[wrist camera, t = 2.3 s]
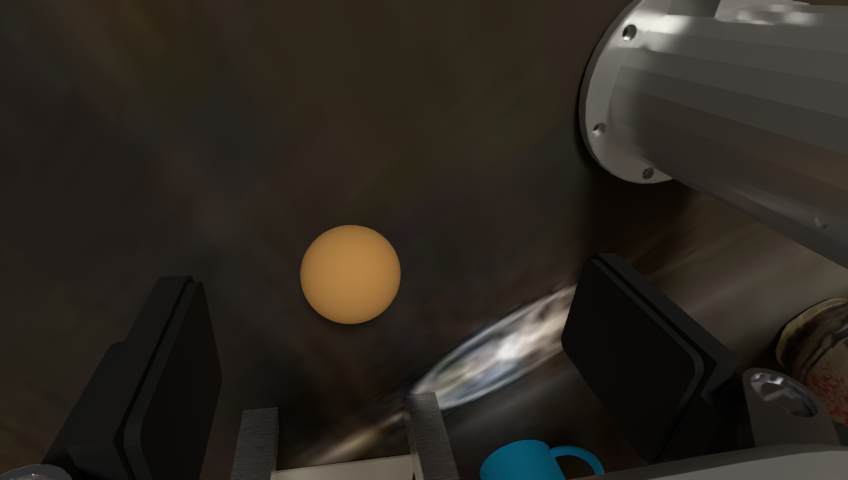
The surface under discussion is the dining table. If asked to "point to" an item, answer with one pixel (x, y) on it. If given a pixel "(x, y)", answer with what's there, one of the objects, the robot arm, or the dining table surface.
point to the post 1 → (257, 445)
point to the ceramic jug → (820, 354)
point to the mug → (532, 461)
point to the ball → (350, 274)
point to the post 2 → (428, 439)
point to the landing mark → (355, 470)
